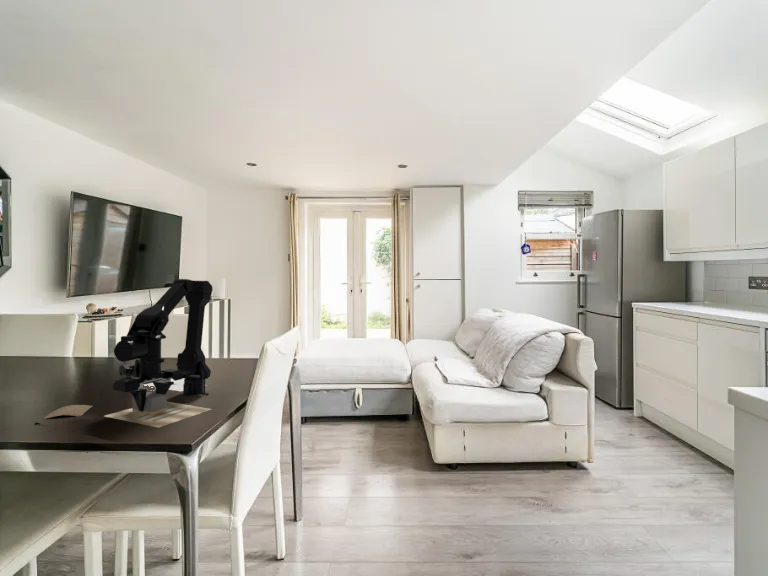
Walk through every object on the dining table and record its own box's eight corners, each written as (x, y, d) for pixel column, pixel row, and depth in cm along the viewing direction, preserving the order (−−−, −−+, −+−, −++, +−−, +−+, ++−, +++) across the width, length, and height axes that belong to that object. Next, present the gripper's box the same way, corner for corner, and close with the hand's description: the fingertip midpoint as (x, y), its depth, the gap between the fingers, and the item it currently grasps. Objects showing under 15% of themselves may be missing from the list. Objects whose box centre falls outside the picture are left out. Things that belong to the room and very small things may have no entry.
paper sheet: (210, 388, 158) (210, 385, 158) (121, 407, 137) (121, 404, 136) (184, 378, 174) (184, 375, 174) (101, 393, 153) (100, 390, 153)
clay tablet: (102, 411, 130) (102, 402, 130) (93, 421, 120) (93, 411, 120) (44, 416, 125) (44, 406, 125) (30, 427, 115) (30, 417, 115)
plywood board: (159, 404, 136) (159, 400, 136) (211, 413, 127) (212, 409, 127) (103, 420, 120) (103, 415, 120) (158, 432, 111) (158, 427, 111)
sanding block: (147, 406, 129) (148, 391, 129) (166, 410, 126) (166, 394, 126) (132, 411, 124) (132, 395, 124) (151, 414, 121) (151, 399, 121)
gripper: (158, 349, 137) (158, 398, 137) (99, 358, 120) (99, 414, 120) (184, 352, 132) (183, 402, 132) (126, 361, 115) (126, 419, 115)
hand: (149, 408), depth 125 cm, fingers closed on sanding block, 5 cm apart
